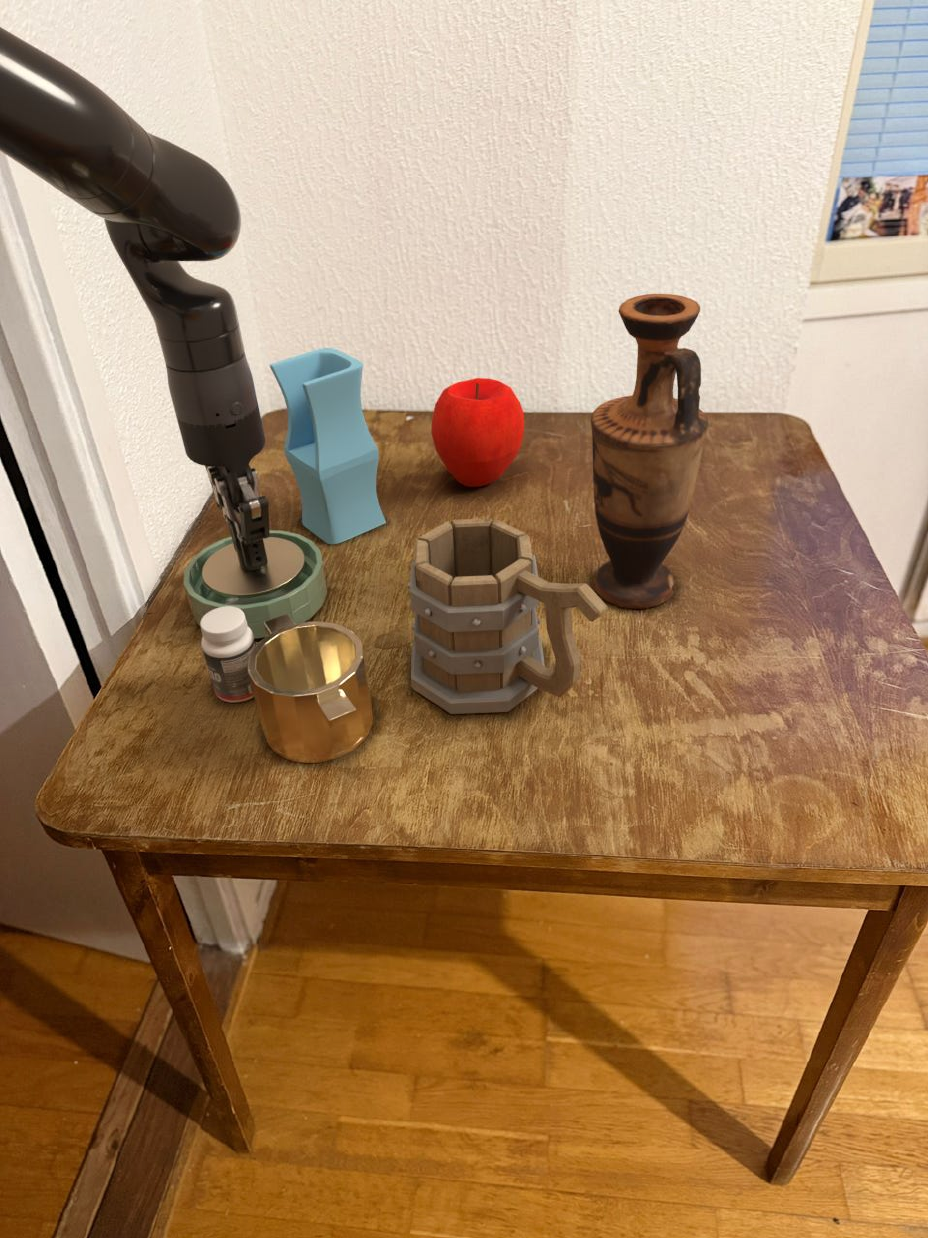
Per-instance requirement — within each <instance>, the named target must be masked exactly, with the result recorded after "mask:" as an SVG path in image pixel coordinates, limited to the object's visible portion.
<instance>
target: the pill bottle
mask: <svg viewBox="0 0 928 1238" xmlns="http://www.w3.org/2000/svg"><path fill="white" fill-rule="evenodd" d="M199 627H200V630H201V635H202V638H201V642H200V643H201V650H202V653H203V656H204V660H205V663H206V667H207V670H208V675H209V677H210V680H211V681H210V682H211V684H212V687H213V691H214V694H215V696H216V697H217V698H218V699H220V700H221V701H223V702H227V703H241V702H242V703H243V702H247V701H249V700H251V699H253V698H254V694H253V690H252V686H251V682H250V678H249V674H248V662H249V655H250V654H251V653H252V651H253V650H254V648H255V647H256V645H257V644H256V641H255V640H256V639H254V636H253V632H252V630H251V629H250V628H249V627H248V626H247V621H246V618H245V614H244V612H243V611H242V610H241V609H239V608H236V607H231V606H226V607H220V608H216V609H213V610H211V611H210V612H208V613H207V614H205V615H204V616H203V618H202V619H201V622H200V626H199Z"/></svg>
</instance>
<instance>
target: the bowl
mask: <svg viewBox="0 0 928 1238" xmlns="http://www.w3.org/2000/svg"><path fill="white" fill-rule="evenodd" d="M269 532H270V533H269V537H276V538H282V539H286V540H288V541H291V542H293V543H295V544H296V545H298V546H299V547H300V548H301V550H302V551H303V553H304V556H305V567H304V569H303V571H302V573H301V574H300V576H299V577H298V578H297V579H296V580H295V581H294V582H292V583H291V584H290V585H288V586H286V587H285V588H283V589H281V590H279V591H276V592H273V593H271V594H267V595H264V596H259V597H253V598H231V597H225V596H222V595H219V594H217V593H215V592H213V591H211V590H210V589H209V588H208V587H207V586H206V585H205V583H204V581H203V577H202V570H203V566H204V564H205V562H206V561H207V560H208V558H209V557H210V556H211V555H213V554H214V553H215V552H216V551H218V550H219V549H221V548H223V547H225V546H227V545H229V544H231V543H233V541H232V537H231V536H229V537H225V538H222V539H220V540H218V541H216V542H214V543H211V544H210V545H208V546H206V547H205V548H203V549H202V550H201V551H200V552H199V553H197V554H196V555H195V556H194V557H193V558H191V560H190V561H189V563H188V564H187V566H186V568H185V570H184V572H183V587H184V591H185V593H186V597H187V601H188V605H189V607H190V611H191V615H192V616H193V618H194V620H195V621H196V623H197V625H198V627H201V626H200V622H201V619H202V618H203V616H204V615H205V614H207V613H208V612H210V611H211V610H213V609H216V608H220V607H226V606H231V607H236V608H239V609H241V610H242V611H243V612H244V614H245V618H246V621H247V626H248V627H249V628H250V629H251V630H252V632H253V636H254V640H258V639H264V638H266V637H267V636H269V635H268V633H267V632H266V630H265V625H264V622H266V621H269V620H271V619H274V618H277V617H280V616H283V615H285V614H289V616H290V617H291V618H292V620H293V621H294V623H295V624H296V623H304V622H308V621H309V620H311V618H313V617H314V615H315V614H316V613H317V612H318V611H319V610H320V609H321V608H322V607H323V606H324V604H325V600H326V598H327V595H328V586H327V580H326V579H327V578H326V573H325V567H324V563H323V556H322V551H321V550H320V549H319V547H318V546H317V545H316V543H315V542H314V541H313V540H311V539H309V538H307V537H306V536H303V535H301V534H298V533H296V532H290V531H286V530H274V529H273V530H271V529H269Z"/></svg>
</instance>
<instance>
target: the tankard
mask: <svg viewBox="0 0 928 1238" xmlns="http://www.w3.org/2000/svg"><path fill="white" fill-rule="evenodd" d="M414 544H415V545H414V557H413V558H414V559H412V560H411V561H410V562H411V564H410V579H409V580H410V581H409V582H408V583H407V588H408V590H409V598H410V607H411V608H410V609H411V611H412V612H414V623H412V625H411V629H412V631H413V638H414V639H413V640H414V641H412V643H411V664H410V684H411V689H412V690H413V691H415V692H417V693H418V694H420V695H421V696H423V697H424V698H426V699H427V700H429V701H431V702H432V703H433V704H435V705H437V707H439V708H441V709H442V710H444V711H446V712H447V713H449V714H450V715H460V714H463V715H464V714H485V713H508V712H510V711H511V710H513V709H514V708H515V707H517V706H518V705H519V704H520V703H522V701H524V700H526V699H527V698H528V697H529V696H531V695H532V694H533V693H534V692H536V691H537V690H541V691H543V692H545V693H548V694H549V695H553V696H555V697H557V698H562V697H564V695H566V694H567V693H569V691H570V690H571V688H573V686H575V685H576V683H577V682H578V681H579V680H580V675H581V665H582V659H581V655H580V652H579V649H578V644H577V642H576V637H575V634H574V630H573V617H572V608H578V610H579V611H580V612H581V613H582V614H583V615H584V617H585V618H586V619H587V620H588V621H589V622H591V623H593V622H594V621H596V620H597V619H598V618H600V617H601V616H603V614H604V613H605V612H606V611H607V610H608V605H607V604H606V603H605V601H603V600H602V598H600V596H598V593H596V592H595V591H594V590H593V589H592V588H591V586H590V585H589V584H588V583H586V582H580V583H579V582H578V583H577V582H576V583H560V582H551V581H550V582H549V581H547V580H545V579H544V578H541V576H539V573H538V567H537V560H536V555H534V554H533V552H532V544H531V537H530V535H528V533H526V532H524V531H522V530H520V529H518V528H515V527H514V526H511V525H509V524H507V523H505V522H502V521H501V520H499V519H496V518H494V519H493V518H492V517H491V518H468V519H451V520H450V521H449V520H447V521H446V522H444V523H442V524H440V525H439V526H437V527H435V528H433V529H432V530H430V531H428V532H426V533H424V534H423V535H421V536H419V537H418V538H417V539H415V542H414ZM540 602H541V603H543V604H544V608H545V623H546V625H545V626H546V631H547V635H548V638H549V642H550V645H551V648H552V653H553V655H554V658H555V660H554V661H555V662H554V670H553V669H549V668H548V667H546V665H545V664H546V663H545V657H544V656H545V655H544V649H543V643H542V636H540V635H539V633H540V629H539V625H540V624H541V619H540V618H539V617H538V614H537V607H538V606H540Z"/></svg>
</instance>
